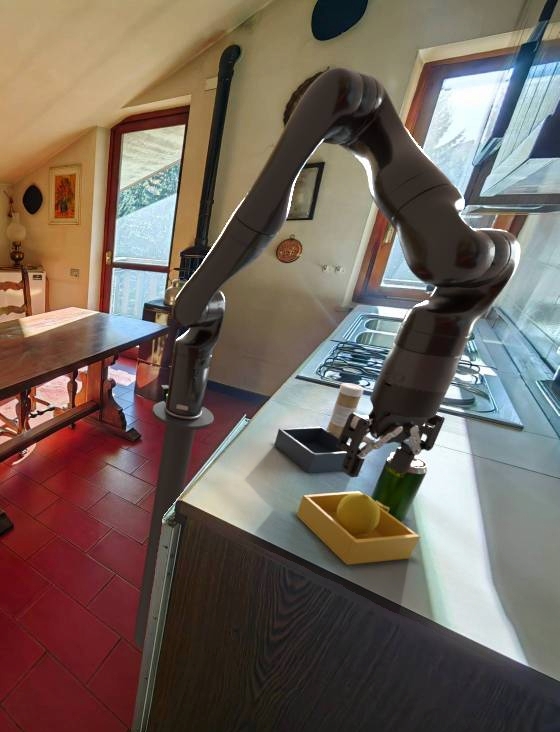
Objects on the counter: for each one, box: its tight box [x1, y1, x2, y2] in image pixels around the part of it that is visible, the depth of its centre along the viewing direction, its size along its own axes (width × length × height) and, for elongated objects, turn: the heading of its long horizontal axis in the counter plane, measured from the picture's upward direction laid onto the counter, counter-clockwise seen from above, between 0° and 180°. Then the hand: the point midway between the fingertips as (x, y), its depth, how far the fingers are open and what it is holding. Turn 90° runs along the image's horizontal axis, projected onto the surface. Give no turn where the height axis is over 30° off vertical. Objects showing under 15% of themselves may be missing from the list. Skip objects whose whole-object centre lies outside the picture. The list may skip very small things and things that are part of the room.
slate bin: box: [273, 426, 347, 474], centre depth 88 cm, size 11×11×5 cm
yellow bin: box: [296, 490, 421, 565], centre depth 66 cm, size 11×11×5 cm
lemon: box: [337, 492, 380, 534], centre depth 65 cm, size 6×6×8 cm
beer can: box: [370, 451, 429, 523], centre depth 69 cm, size 5×5×12 cm
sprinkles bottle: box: [325, 382, 365, 437], centre depth 97 cm, size 5×5×13 cm
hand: (372, 472), depth 62 cm, fingers open, 8 cm apart
